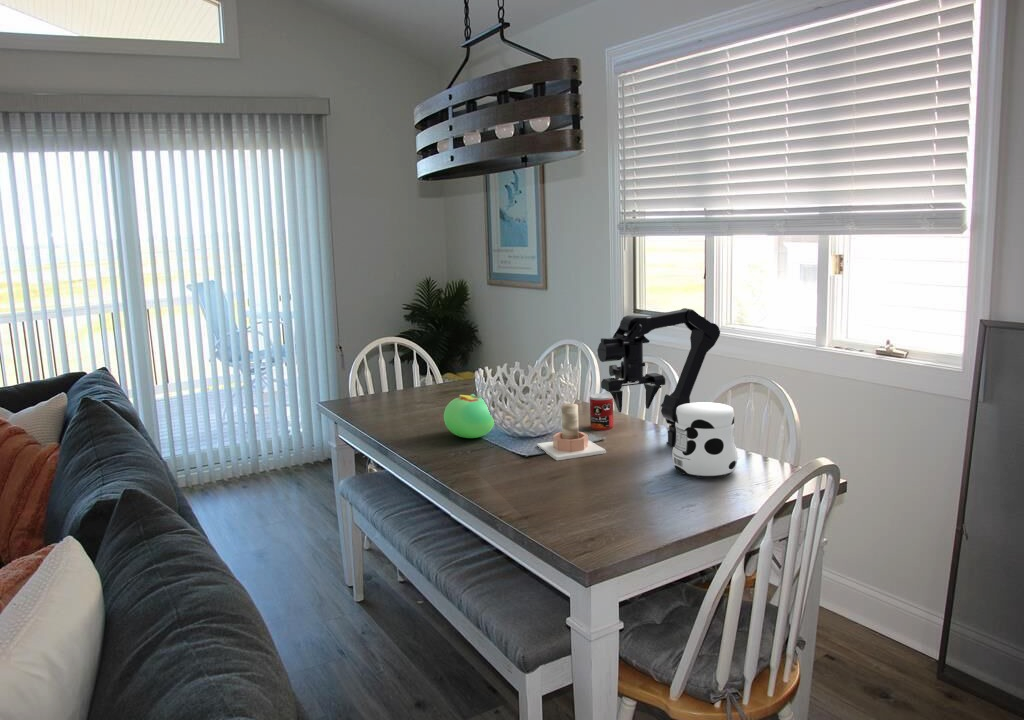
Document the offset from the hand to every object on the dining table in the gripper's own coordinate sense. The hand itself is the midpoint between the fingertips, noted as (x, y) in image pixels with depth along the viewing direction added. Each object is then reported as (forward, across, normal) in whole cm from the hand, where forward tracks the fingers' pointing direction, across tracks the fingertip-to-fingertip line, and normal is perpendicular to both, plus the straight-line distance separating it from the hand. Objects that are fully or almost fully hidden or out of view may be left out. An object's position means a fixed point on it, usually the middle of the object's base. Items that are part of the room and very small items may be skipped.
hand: (633, 410), depth 230 cm
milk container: (+13, -8, +25) cm, 29 cm away
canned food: (+13, -4, -30) cm, 33 cm away
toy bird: (+13, +39, -40) cm, 57 cm away
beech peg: (+12, +16, -11) cm, 23 cm away
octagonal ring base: (+13, +16, -11) cm, 23 cm away
